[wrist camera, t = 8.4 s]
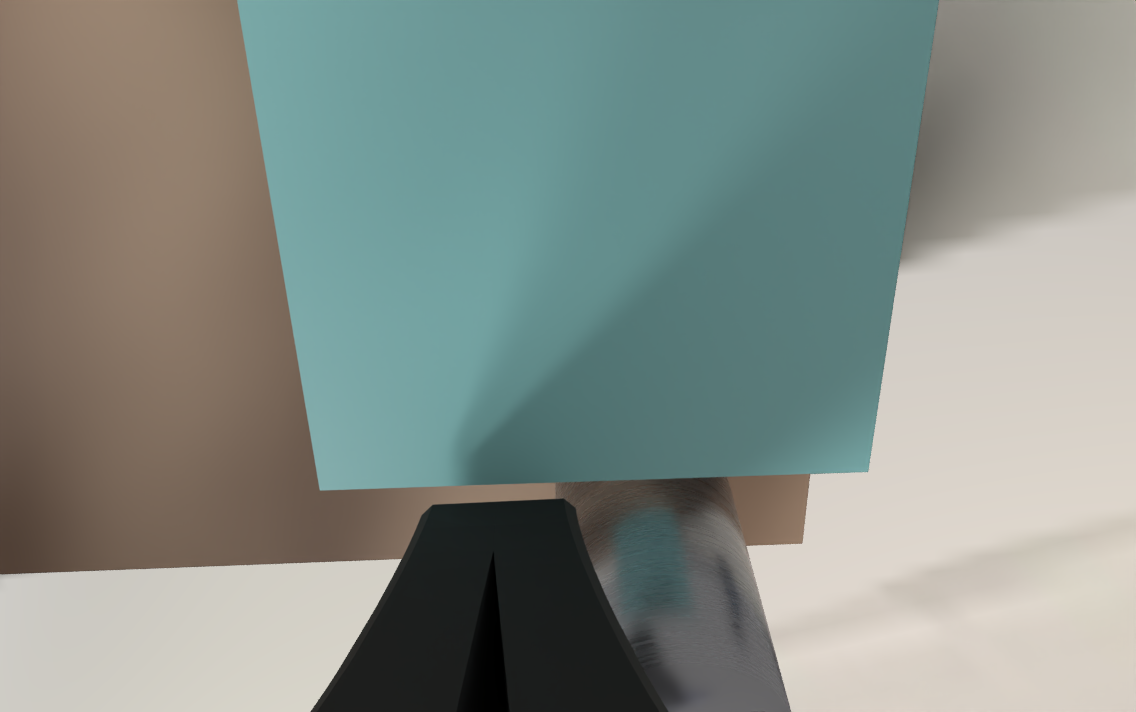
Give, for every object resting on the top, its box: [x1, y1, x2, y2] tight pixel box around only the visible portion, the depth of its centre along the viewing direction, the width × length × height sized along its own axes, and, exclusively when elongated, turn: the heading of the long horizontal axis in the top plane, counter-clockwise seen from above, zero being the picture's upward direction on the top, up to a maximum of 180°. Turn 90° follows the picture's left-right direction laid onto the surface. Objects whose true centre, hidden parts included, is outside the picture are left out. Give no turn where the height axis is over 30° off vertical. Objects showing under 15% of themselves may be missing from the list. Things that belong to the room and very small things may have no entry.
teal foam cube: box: [237, 0, 939, 490], centre depth 12 cm, size 5×5×7 cm
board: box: [0, 0, 810, 574], centre depth 16 cm, size 15×12×1 cm
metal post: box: [555, 477, 791, 712], centre depth 15 cm, size 3×3×6 cm
